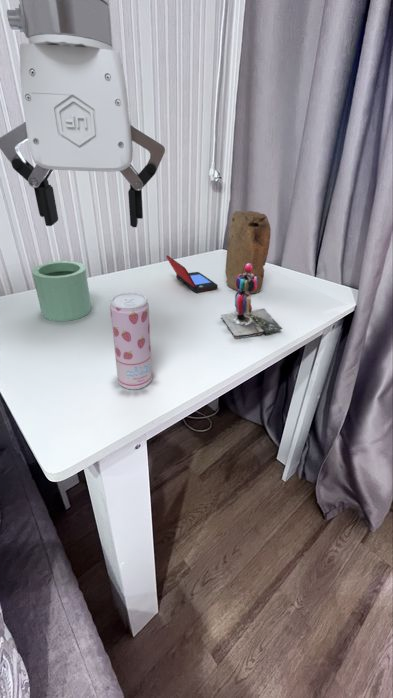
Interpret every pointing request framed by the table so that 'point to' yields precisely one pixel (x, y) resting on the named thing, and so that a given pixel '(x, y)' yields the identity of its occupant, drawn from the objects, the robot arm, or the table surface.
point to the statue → (248, 310)
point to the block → (247, 246)
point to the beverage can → (131, 339)
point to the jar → (62, 290)
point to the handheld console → (192, 278)
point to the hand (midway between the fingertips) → (93, 224)
